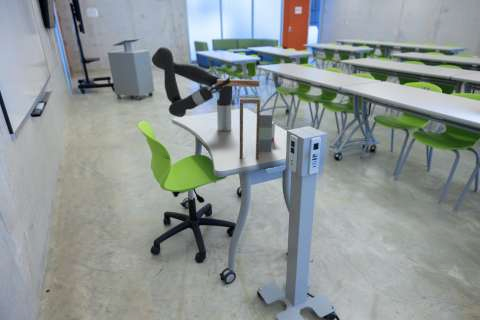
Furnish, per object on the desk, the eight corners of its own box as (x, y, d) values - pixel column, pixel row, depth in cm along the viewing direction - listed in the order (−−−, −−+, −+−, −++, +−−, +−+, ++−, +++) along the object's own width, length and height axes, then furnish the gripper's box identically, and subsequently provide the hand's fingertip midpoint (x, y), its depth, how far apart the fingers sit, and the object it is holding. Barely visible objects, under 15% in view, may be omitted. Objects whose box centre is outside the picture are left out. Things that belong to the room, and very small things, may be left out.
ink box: (272, 138, 193) (273, 120, 188) (274, 141, 189) (275, 123, 184) (258, 139, 192) (259, 121, 187) (260, 142, 187) (261, 123, 182)
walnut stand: (240, 154, 171) (240, 96, 158) (258, 154, 170) (260, 96, 157) (239, 158, 165) (239, 99, 152) (258, 159, 165) (260, 99, 152)
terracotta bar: (218, 84, 165) (217, 79, 164) (259, 85, 164) (259, 79, 163) (217, 85, 162) (217, 80, 161) (259, 86, 161) (259, 80, 160)
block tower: (256, 147, 180) (257, 112, 172) (270, 147, 180) (272, 112, 171) (256, 151, 175) (257, 115, 166) (270, 151, 175) (272, 115, 166)
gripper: (196, 92, 159) (224, 75, 155) (201, 86, 172) (227, 71, 167) (204, 104, 162) (232, 88, 157) (208, 98, 174) (234, 83, 170)
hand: (229, 79), depth 162 cm, fingers closed on terracotta bar, 3 cm apart
